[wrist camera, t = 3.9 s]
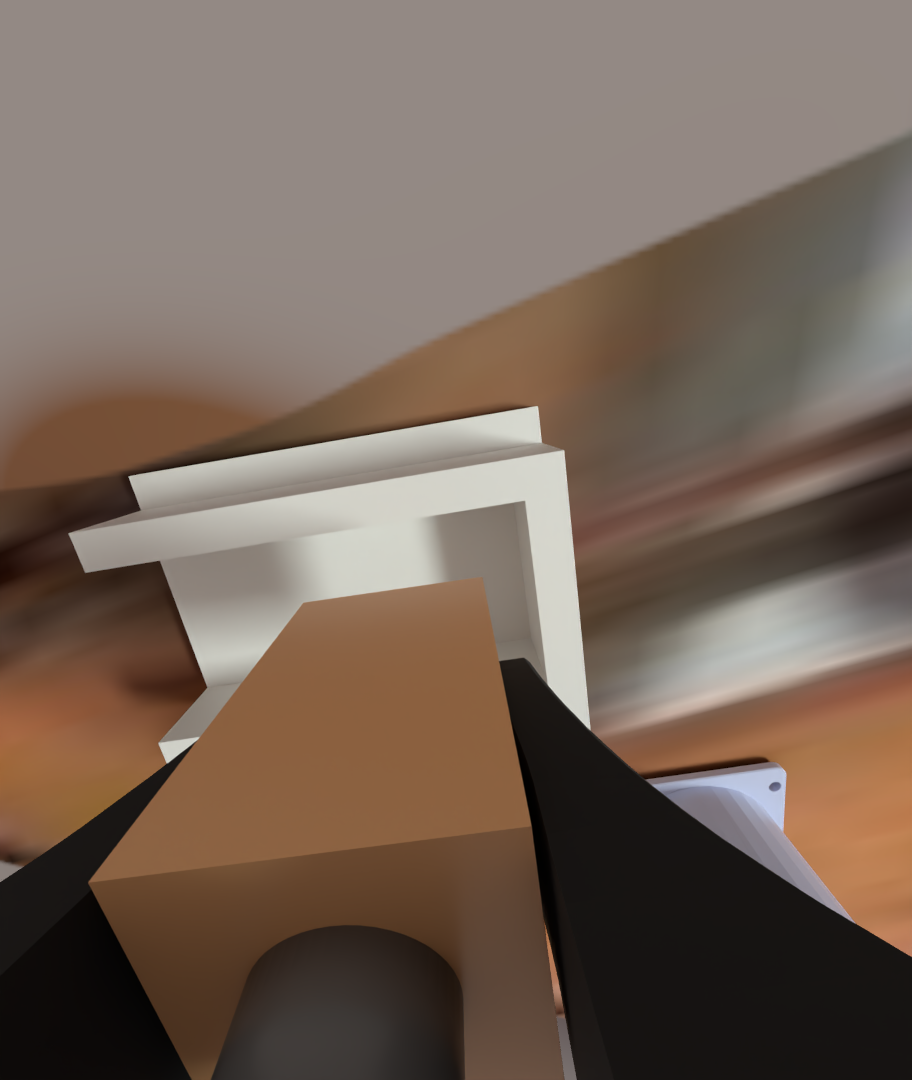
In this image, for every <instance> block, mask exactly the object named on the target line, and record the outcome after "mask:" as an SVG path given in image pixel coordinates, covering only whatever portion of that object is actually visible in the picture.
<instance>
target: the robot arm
mask: <svg viewBox="0 0 912 1080" xmlns="http://www.w3.org/2000/svg"><path fill="white" fill-rule="evenodd" d="M499 664H500V669H501V674H502V679H503V684H504V689H505V694H506V699H507V704H508V709H509V714H510V719H511V724H512V730H513V735H514V740H515V745H516V750H517V755H518V760H519V765H520V770H521V775H522V780H523V785H524V790H525V795H526V800H527V806H528V811H529V816H530V821H531V826H532V833H533V841H534V849H535V856H536V864H537V872H538V880H539V887H540V895H541V903H542V910H543V917H544V921H545V925H546V929H547V933H548V937H549V941H550V945H551V949H552V954H553V958H554V963H555V967H556V971H557V976H558V980H559V986H560V991H561V996H562V1002H563V1007H564V1013H565V1018H566V1023H567V1029H568V1034H569V1040H570V1045H571V1051H572V1056H573V1061H574V1066H575V1072H576V1077H577V1080H912V957H911V956H909V955H907V954H905V953H904V952H902V951H900V950H899V949H897V948H895V947H894V946H892V945H890V944H889V943H887V942H885V941H884V940H882V939H880V938H879V937H877V936H875V935H874V934H872V933H870V932H869V931H867V930H865V929H864V928H862V927H860V926H859V925H857V924H855V922H854V921H853V920H852V918H851V917H850V916H849V915H848V913H847V912H846V911H845V910H844V908H843V907H842V906H841V905H840V903H839V902H838V901H837V900H836V898H835V897H834V896H833V895H832V893H831V892H830V891H829V889H828V888H827V887H826V886H825V884H824V883H823V882H822V881H821V879H820V878H819V877H818V876H817V874H816V873H815V872H814V871H813V869H812V868H811V867H810V866H809V864H808V863H807V862H806V860H805V859H804V858H803V857H802V855H801V854H800V853H799V852H798V850H797V849H796V848H795V847H794V845H793V844H792V843H791V842H790V840H789V839H788V838H787V837H786V835H785V834H784V833H783V824H784V806H785V789H786V772H785V770H784V769H783V768H782V767H781V766H780V765H779V764H778V763H775V762H767V763H760V764H753V765H746V766H739V767H732V768H724V769H717V770H710V771H703V772H696V773H689V774H682V775H674V776H667V777H660V778H653V779H646V780H645V779H644V778H643V777H641V776H640V775H639V774H638V773H637V772H635V771H634V770H633V769H632V768H631V767H630V766H628V765H627V764H626V763H625V762H624V761H623V760H622V759H621V758H619V757H618V756H617V755H616V754H615V753H614V752H613V751H612V750H611V749H609V748H608V747H607V746H606V745H605V744H604V743H603V742H602V741H601V740H600V739H599V738H598V737H597V736H596V735H595V734H593V733H592V732H591V731H590V730H589V729H588V728H587V727H586V726H585V725H584V724H583V723H582V722H581V721H580V720H579V719H578V717H577V716H576V715H575V714H574V713H573V712H572V711H571V710H570V709H569V708H568V707H567V706H566V705H565V704H564V703H563V702H562V701H561V700H560V699H559V697H558V696H557V695H556V694H555V693H554V692H553V691H552V689H551V688H550V687H549V686H548V685H547V684H546V682H545V681H544V680H543V679H542V678H541V676H540V675H539V674H538V672H537V671H536V670H535V668H534V667H533V666H532V664H531V663H530V662H529V661H528V660H527V659H525V658H517V659H510V660H503V661H499ZM196 742H197V741H196ZM196 742H194V743H193V744H192V745H190V746H189V747H188V748H187V749H185V750H184V751H183V752H181V753H180V754H179V755H178V756H176V757H175V758H174V759H172V760H171V761H170V762H169V763H167V764H166V765H165V766H163V767H162V768H161V769H160V770H158V771H157V772H156V773H154V774H153V775H152V776H150V777H149V778H148V779H146V780H145V781H144V782H142V783H141V784H140V785H138V786H137V787H136V788H134V789H133V790H131V791H130V792H129V793H127V794H126V795H125V796H123V797H122V798H121V799H119V800H118V801H117V802H115V803H114V804H112V805H111V806H110V807H108V808H107V809H106V810H104V811H103V812H102V813H100V814H99V815H98V816H96V817H95V818H93V819H92V820H91V821H89V822H88V823H87V824H85V825H84V826H83V827H81V828H80V829H78V830H77V831H76V832H74V833H73V834H71V835H70V836H68V837H67V838H66V839H64V840H63V841H61V842H60V843H58V844H57V845H55V846H54V847H52V848H51V849H50V850H48V851H47V852H45V853H44V854H42V855H41V856H39V857H38V858H36V859H35V860H33V861H32V862H30V863H29V864H27V865H26V866H24V867H23V868H21V869H20V870H18V871H17V872H15V873H14V874H12V875H11V876H9V877H8V878H6V879H5V880H3V881H2V882H0V1080H192V1079H191V1077H190V1076H189V1074H188V1072H187V1070H186V1068H185V1066H184V1064H183V1062H182V1060H181V1058H180V1057H179V1055H178V1053H177V1051H176V1049H175V1047H174V1045H173V1043H172V1041H171V1039H170V1038H169V1036H168V1034H167V1032H166V1030H165V1028H164V1026H163V1024H162V1022H161V1020H160V1019H159V1017H158V1015H157V1013H156V1011H155V1009H154V1007H153V1005H152V1003H151V1001H150V1000H149V998H148V996H147V994H146V992H145V990H144V988H143V986H142V984H141V982H140V981H139V979H138V977H137V975H136V973H135V971H134V969H133V967H132V965H131V963H130V962H129V960H128V958H127V956H126V954H125V952H124V950H123V948H122V946H121V944H120V943H119V941H118V939H117V937H116V935H115V933H114V931H113V929H112V927H111V925H110V924H109V922H108V920H107V918H106V916H105V914H104V912H103V910H102V908H101V906H100V905H99V903H98V901H97V899H96V897H95V895H94V893H93V891H92V889H91V887H90V886H89V884H88V882H89V881H90V879H91V878H92V877H93V876H94V874H95V873H96V872H97V870H98V869H99V868H100V866H101V865H102V864H103V863H104V861H105V860H106V859H107V857H108V856H109V855H110V853H111V852H112V851H113V850H114V848H115V847H116V846H117V844H118V843H119V842H120V840H121V839H122V838H123V837H124V835H125V834H126V833H127V831H128V830H129V829H130V827H131V826H132V825H133V824H134V822H135V821H136V820H137V818H138V817H139V816H140V814H141V813H142V812H143V811H144V809H145V808H146V807H147V805H148V804H149V803H150V801H151V800H152V799H153V798H154V796H155V795H156V794H157V792H158V791H159V790H160V788H161V787H162V786H163V785H164V783H165V782H166V781H167V779H168V778H169V777H170V775H171V774H172V773H173V772H174V770H175V769H176V768H177V766H178V765H179V764H180V762H181V761H182V760H183V759H184V757H185V756H186V755H187V753H188V752H189V751H190V749H191V748H192V747H193V746H194V744H195V743H196Z"/></svg>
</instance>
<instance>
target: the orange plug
mask: <svg viewBox="0 0 912 1080" xmlns="http://www.w3.org/2000/svg"><path fill="white" fill-rule="evenodd" d="M88 884H89V886H90V887H91V889H92V891H93V893H94V895H95V897H96V899H97V901H98V903H99V905H100V906H101V908H102V910H103V912H104V914H105V916H106V918H107V920H108V922H109V924H110V925H111V927H112V929H113V931H114V933H115V935H116V937H117V939H118V941H119V943H120V944H121V946H122V948H123V950H124V952H125V954H126V956H127V958H128V960H129V962H130V963H131V965H132V967H133V969H134V971H135V973H136V975H137V977H138V979H139V981H140V982H141V984H142V986H143V988H144V990H145V992H146V994H147V996H148V998H149V1000H150V1001H151V1003H152V1005H153V1007H154V1009H155V1011H156V1013H157V1015H158V1017H159V1019H160V1020H161V1022H162V1024H163V1026H164V1028H165V1030H166V1032H167V1034H168V1036H169V1038H170V1039H171V1041H172V1043H173V1045H174V1047H175V1049H176V1051H177V1053H178V1055H179V1057H180V1058H181V1060H182V1062H183V1064H184V1066H185V1068H186V1070H187V1072H188V1074H189V1076H190V1077H191V1079H192V1080H564V1072H563V1065H562V1057H561V1049H560V1041H559V1034H558V1026H557V1018H556V1011H555V1003H554V995H553V987H552V980H551V972H550V964H549V957H548V949H547V941H546V934H545V926H544V918H543V910H542V903H541V895H540V887H539V880H538V872H537V864H536V856H535V849H534V841H533V833H532V826H531V821H530V816H529V811H528V806H527V800H526V795H525V790H524V785H523V780H522V775H521V770H520V765H519V760H518V755H517V750H516V745H515V740H514V735H513V730H512V724H511V719H510V714H509V709H508V704H507V699H506V694H505V689H504V684H503V679H502V674H501V669H500V664H499V659H498V653H497V648H496V643H495V638H494V633H493V628H492V623H491V618H490V613H489V608H488V603H487V598H486V593H485V588H484V582H483V577H477V578H470V579H463V580H456V581H449V582H442V583H435V584H428V585H422V586H415V587H408V588H401V589H394V590H387V591H380V592H373V593H366V594H359V595H352V596H345V597H338V598H332V599H325V600H318V601H311V602H304V603H303V604H302V605H301V606H300V608H299V609H298V610H297V612H296V613H295V614H294V616H293V617H292V618H291V619H290V621H289V622H288V623H287V625H286V626H285V627H284V629H283V630H282V631H281V632H280V634H279V635H278V636H277V638H276V639H275V640H274V642H273V643H272V644H271V645H270V647H269V648H268V649H267V651H266V652H265V653H264V655H263V656H262V657H261V658H260V660H259V661H258V662H257V664H256V665H255V666H254V668H253V669H252V670H251V671H250V673H249V674H248V675H247V677H246V678H245V679H244V681H243V682H242V683H241V684H240V686H239V687H238V688H237V690H236V691H235V692H234V694H233V695H232V696H231V697H230V699H229V700H228V701H227V703H226V704H225V705H224V707H223V708H222V709H221V710H220V712H219V713H218V714H217V716H216V717H215V718H214V720H213V721H212V722H211V723H210V725H209V726H208V727H207V729H206V730H205V731H204V733H203V734H202V735H201V736H200V738H199V739H198V740H197V742H196V743H195V744H194V746H193V747H192V748H191V749H190V751H189V752H188V753H187V755H186V756H185V757H184V759H183V760H182V761H181V762H180V764H179V765H178V766H177V768H176V769H175V770H174V772H173V773H172V774H171V775H170V777H169V778H168V779H167V781H166V782H165V783H164V785H163V786H162V787H161V788H160V790H159V791H158V792H157V794H156V795H155V796H154V798H153V799H152V800H151V801H150V803H149V804H148V805H147V807H146V808H145V809H144V811H143V812H142V813H141V814H140V816H139V817H138V818H137V820H136V821H135V822H134V824H133V825H132V826H131V827H130V829H129V830H128V831H127V833H126V834H125V835H124V837H123V838H122V839H121V840H120V842H119V843H118V844H117V846H116V847H115V848H114V850H113V851H112V852H111V853H110V855H109V856H108V857H107V859H106V860H105V861H104V863H103V864H102V865H101V866H100V868H99V869H98V870H97V872H96V873H95V874H94V876H93V877H92V878H91V879H90V881H89V882H88Z"/></svg>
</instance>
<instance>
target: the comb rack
mask: <svg viewBox="0 0 912 1080" xmlns="http://www.w3.org/2000/svg"><path fill="white" fill-rule="evenodd" d="M128 477H129V480H130V482H131V485H132V488H133V490H134V493H135V496H136V498H137V501H138V504H139V506H140V509H141V511H138V512H135V513H132V514H128V515H125V516H122V517H119V518H116V519H112V520H109V521H106V522H103V523H100V524H96V525H93V526H90V527H87V528H84V529H80V530H77V531H74V532H71V533H68V534H69V536H70V538H71V541H72V543H73V545H74V548H75V550H76V552H77V555H78V557H79V559H80V562H81V564H82V566H83V569H84V571H85V573H87V572H93V571H100V570H106V569H112V568H118V567H124V566H130V565H136V564H142V563H148V562H154V561H160V562H161V565H162V568H163V570H164V573H165V576H166V578H167V581H168V584H169V586H170V589H171V592H172V594H173V597H174V600H175V602H176V605H177V608H178V610H179V613H180V616H181V618H182V621H183V624H184V626H185V629H186V632H187V634H188V637H189V640H190V642H191V645H192V648H193V650H194V653H195V656H196V658H197V661H198V664H199V666H200V669H201V672H202V674H203V677H204V680H205V682H206V685H207V689H206V690H205V691H204V692H203V693H202V694H201V696H200V697H199V698H198V699H197V700H196V701H195V702H194V703H193V705H192V706H191V707H190V708H189V709H188V710H187V711H186V712H185V714H184V715H183V716H182V717H181V718H180V719H179V720H178V721H177V723H176V724H175V725H174V726H173V727H172V728H171V729H170V730H169V732H168V733H167V734H166V735H165V736H164V737H163V738H162V739H161V741H160V742H159V743H158V744H159V746H160V748H161V751H162V753H163V755H164V758H165V760H166V762H167V763H169V762H170V761H171V760H172V759H174V758H175V757H176V756H178V755H179V754H180V753H181V752H183V751H184V750H185V749H187V748H188V747H189V746H190V745H192V744H193V743H194V742H196V741H197V740H198V739H199V738H200V736H201V735H202V734H203V733H204V731H205V730H206V729H207V727H208V726H209V725H210V723H211V722H212V721H213V720H214V718H215V717H216V716H217V714H218V713H219V712H220V710H221V709H222V708H223V707H224V705H225V704H226V703H227V701H228V700H229V699H230V697H231V696H232V695H233V694H234V692H235V691H236V690H237V688H238V687H239V686H240V684H241V683H242V682H243V681H244V679H245V678H246V677H247V675H248V674H249V673H250V671H251V670H252V669H253V668H254V666H255V665H256V664H257V662H258V661H259V660H260V658H261V657H262V656H263V655H264V653H265V652H266V651H267V649H268V648H269V647H270V645H271V644H272V643H273V642H274V640H275V639H276V638H277V636H278V635H279V634H280V632H281V631H282V630H283V629H284V627H285V626H286V625H287V623H288V622H289V621H290V619H291V618H292V617H293V616H294V614H295V613H296V612H297V610H298V609H299V608H300V606H301V605H302V604H303V603H304V602H311V601H318V600H325V599H332V598H338V597H345V596H352V595H359V594H366V593H373V592H380V591H387V590H394V589H401V588H408V587H415V586H422V585H428V584H435V583H442V582H449V581H456V580H463V579H470V578H477V577H483V582H484V588H485V593H486V598H487V603H488V608H489V613H490V618H491V623H492V628H493V633H494V638H495V643H496V648H497V653H498V659H499V661H503V660H510V659H517V658H525V659H527V660H528V661H529V662H530V663H531V664H532V666H533V667H534V668H535V670H536V671H537V672H538V674H539V675H540V676H541V678H542V679H543V680H544V681H545V682H546V684H547V685H548V686H549V687H550V688H551V689H552V691H553V692H554V693H555V694H556V695H557V696H558V697H559V699H560V700H561V701H562V702H563V703H564V704H565V705H566V706H567V707H568V708H569V709H570V710H571V711H572V712H573V713H574V714H575V715H576V716H577V717H578V719H579V720H580V721H581V722H582V723H583V724H584V725H585V726H586V727H587V728H588V729H589V730H590V720H589V710H588V699H587V688H586V678H585V667H584V657H583V646H582V635H581V625H580V614H579V604H578V593H577V582H576V572H575V561H574V551H573V540H572V529H571V519H570V508H569V498H568V487H567V477H566V466H565V455H564V450H562V449H559V448H556V447H553V446H549V445H546V444H543V443H542V440H541V431H540V422H539V412H538V406H534V407H528V408H522V409H516V410H510V411H505V412H499V413H493V414H487V415H481V416H475V417H470V418H464V419H458V420H452V421H446V422H440V423H435V424H429V425H423V426H417V427H411V428H405V429H400V430H394V431H388V432H382V433H376V434H370V435H365V436H359V437H353V438H347V439H341V440H336V441H330V442H324V443H318V444H312V445H306V446H301V447H295V448H289V449H283V450H277V451H271V452H266V453H260V454H254V455H248V456H242V457H236V458H231V459H225V460H219V461H213V462H207V463H201V464H196V465H190V466H184V467H178V468H172V469H166V470H161V471H155V472H149V473H143V474H138V475H133V476H128Z"/></svg>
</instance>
